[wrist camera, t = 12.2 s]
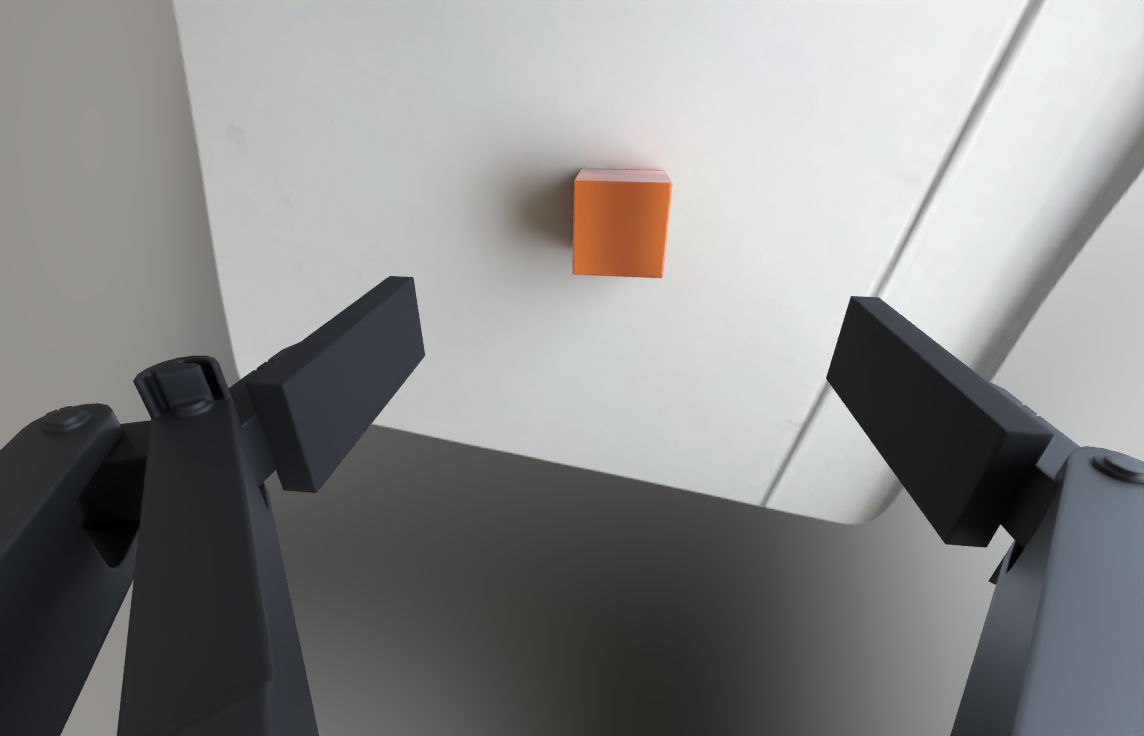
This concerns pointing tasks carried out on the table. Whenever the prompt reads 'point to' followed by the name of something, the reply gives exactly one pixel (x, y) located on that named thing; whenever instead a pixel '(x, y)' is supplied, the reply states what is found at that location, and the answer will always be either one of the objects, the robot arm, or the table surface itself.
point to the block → (620, 222)
